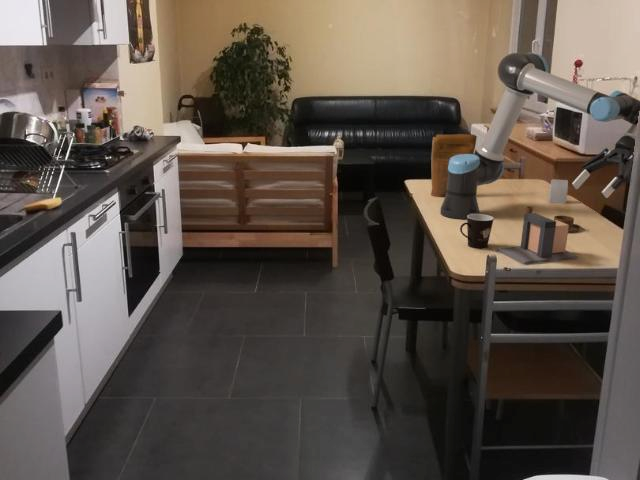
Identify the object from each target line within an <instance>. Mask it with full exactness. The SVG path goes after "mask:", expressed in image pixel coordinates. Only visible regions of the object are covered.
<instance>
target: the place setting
mask: <svg viewBox="0 0 640 480" xmlns="http://www.w3.org/2000/svg"><path fill="white" fill-rule="evenodd" d="M533 210H534V209H533V206H530V205H529V206H526V207H525V214H529V213H533ZM553 220H557V221H560V222H562V223H565V224H567V225H569V228H568V234H575V233H578V232H579V231H580V230H584V231H585V230H586V229H584V227H582V226H581V225H580V224H578V223H577V224H576V223H574V222H575V218H574V217H572V216H568V215H559V214H558V215H555V216H554V217H553ZM571 228H574V229H571Z"/></svg>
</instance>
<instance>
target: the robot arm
mask: <svg viewBox="0 0 640 480" xmlns="http://www.w3.org/2000/svg"><path fill="white" fill-rule="evenodd" d="M497 76H498V78H499V80H500V82H501V83H503V86H504V89H505V90H504V93H503V94H502V97H501V99H500V102H499V103H498V106H497V109H496V111H495V113H494V116H493V119H492V121H491V123H490V125H489V128H488V130H487V133H486V135H485V137H484V140H483V142H482V144H481V145H479V146H476V147H475V149H474V155H473V154H463V155H462V154H460V155H455V156H453V157H451V158H450V160H449V165H448V179H447V192H446V196H445V197H444V199H443V201H442V204H441V207H440V212H439V213H440V215H442V216H443V217H445V218H451V219H456V220H457V219H458V220H467V215H470V214H480V207H479V203H478V199H477V194H478V193H477V191H478V186H484V185H488V184H489V185H490V184H492V183H495V182H496V181H497V180H499V179H501V176H502V175H503V173H504V169H505V165H504V160H505V156H504V154H503V152H504V151H505V148H506V147H507V143H508V141H509V139H510V137H511V134H512V132H513V130H514V129H515V126H516V124H517V120H518V118H520V115H521V113H522V109H523V108H524V106H525V103H526V101H527V99H528V98H529V97H531V96H533V95H534V94H538V95H540V96H542V97H545V98H547V99H550V100H552V101H555V102H557V103H559V104H562V105H565V106H567V107H570V108H572V109H574V110H577V111H579V112H582V113H585V114H587V115H590V116H591V117H592V118H593V120H595V121H596V122H597V121H598V122H603V123H607V122H610V121H617V120H623V121H625V122H627V123H629V124H631V126H630V127H629V128H628V129H627V130H626V131H625V132H624V134H623V135H622V136H621V137H620V138H619V139H618V140H617V142H616V143H615V144H614V145H615V146H614V149H612V150H609V148H604V149H603V150H602V151H601V152H599V153H598V154H596V155H595V156H593V157H591V158H590V159H589V160H587V161H586V162H584V163H583V164H581V165H580V167H581V168H582V171H580V173H579V174H578V175H577V177H576V178H575V180H574V181H572V183H571V184H572V186H573V187H574V189H576V190H578V189H580V187H581V186H582V185H583V184H584V183H585V182H586V181H587V179H588V178H589V177H590V176H591V174H592V173H593V172H596V171H598V170H600V169H602V168H604V167H606V166H608V167H609V166H616V167H618V169H617V170H618V171H617V172H618V173H617V174H618V175H617V176H615V177H614V178H613V179H612V180H611V181H610V182H609V183H608V184H607V185H606V187H605V188H603V190H602V191H601V194H602V195H603V196H604V198H606V199H608V198H609V197H610V196H611V194H613V192H614V191H616V190H617V189H618V188H620V186H621V185H622V184H623V183H625V182H627V183H631V182H630V176H631V168H632V160H633V152H634V146H635V139H636V132H637V123H638V116H639V111H640V100H639V99H637V98H636V97H633V96H631V95H629V94H628V93H626V92H622V91H620V90H614V91H613V92H612V93H610V94H605V93H603V92H600V91H598V90H595V89H592V88H589V87H588V86H587V87H586V86H584V85H582V84H578V83H576V82H573V81H571V80H568V79H565V78H563V77H560V76H557V75H555V74H552V73H549V66H548V62H547V61H546V59H545V57H544V56H542V55H540V54H538V53H534V52H512V53H508V54H507V55H506V56H504V57H503V58H502V59H501V60H500V62H499V63H498V66H497Z"/></svg>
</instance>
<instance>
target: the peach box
mask: <svg viewBox="0 0 640 480" xmlns="http://www.w3.org/2000/svg"><path fill="white" fill-rule="evenodd" d="M553 220H554V219H553ZM554 221H556V228H555V235H554V242H553V250H552V253H558V252H565V250H566V248H567V240H568V234H569V233H568V230H569V229H570V228H569V225H567V224H565V223H562V222H560V221H557V220H554ZM568 228H569V229H568ZM540 229H541V227H540V226H538V225H535V224H533V223H531V224H530V233H529V241H528V249H529V250H531V251H533V252H535V253H537V252H538V244H539V236H540Z"/></svg>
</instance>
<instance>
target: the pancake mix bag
mask: <svg viewBox="0 0 640 480" xmlns="http://www.w3.org/2000/svg"><path fill="white" fill-rule="evenodd" d="M477 138H478V136H477V135H475V134H472V133H471V134H467V133H465V134H463V133H458V134H454V133H453V134H436V135H435V136H433V137H432V143H431V156H430V157H431V158H430V160H431V165H430V166H431V167H430V168H431V192H430V195H431V196H432V197H437V198H445V196H446V192H447V179H448V165H449V160H450V158H451V157H453V156H455V155H460V154H462V155H463V154H473V155H474V153H475V150H476V145H477V144H476V143H477Z"/></svg>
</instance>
